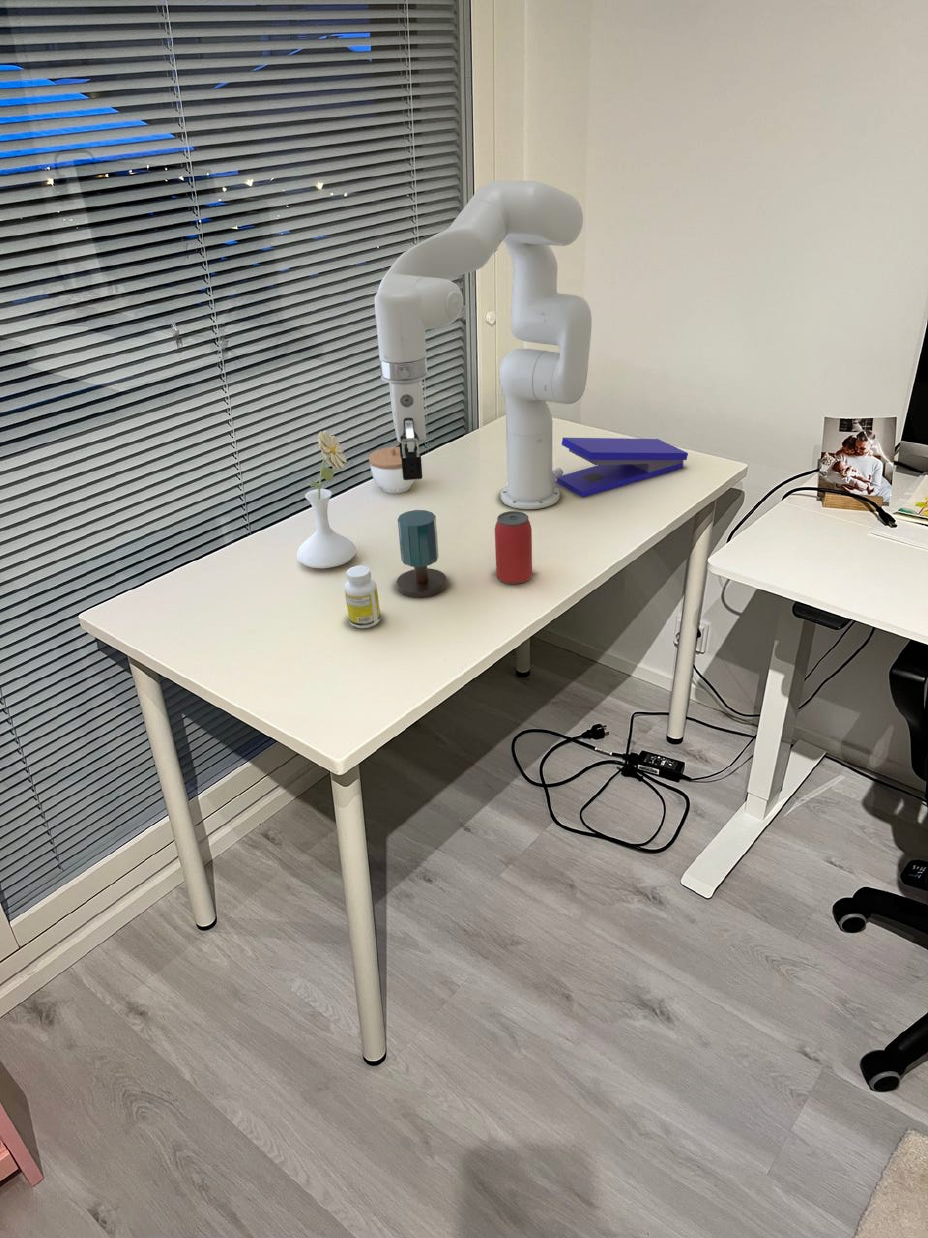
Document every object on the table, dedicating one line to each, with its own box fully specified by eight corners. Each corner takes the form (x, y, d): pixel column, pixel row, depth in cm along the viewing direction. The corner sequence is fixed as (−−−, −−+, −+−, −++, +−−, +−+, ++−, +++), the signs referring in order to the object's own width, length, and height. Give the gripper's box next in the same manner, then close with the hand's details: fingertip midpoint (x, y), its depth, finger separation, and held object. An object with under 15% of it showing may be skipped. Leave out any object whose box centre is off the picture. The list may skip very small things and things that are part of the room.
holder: (419, 569, 180) (414, 505, 173) (456, 582, 175) (452, 517, 168) (387, 588, 174) (380, 524, 167) (424, 602, 169) (419, 536, 162)
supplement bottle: (364, 609, 168) (358, 560, 163) (387, 618, 165) (381, 568, 160) (342, 623, 165) (335, 573, 159) (365, 632, 162) (358, 582, 156)
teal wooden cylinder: (418, 546, 175) (415, 506, 171) (445, 555, 172) (442, 515, 168) (394, 560, 171) (390, 520, 167) (421, 570, 168) (418, 529, 163)
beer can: (532, 568, 178) (532, 509, 172) (531, 585, 172) (530, 525, 166) (497, 568, 179) (495, 509, 172) (495, 585, 173) (492, 525, 167)
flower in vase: (332, 579, 178) (315, 452, 165) (285, 566, 183) (265, 442, 170) (373, 550, 187) (360, 428, 174) (327, 538, 193) (311, 419, 180)
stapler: (555, 481, 212) (555, 439, 207) (655, 452, 223) (657, 412, 218) (585, 498, 203) (586, 455, 198) (688, 468, 214) (691, 426, 209)
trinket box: (429, 483, 214) (426, 444, 209) (401, 501, 206) (397, 460, 202) (391, 475, 219) (388, 436, 214) (362, 492, 212) (357, 452, 207)
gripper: (430, 382, 147) (437, 486, 155) (423, 351, 161) (429, 448, 170) (381, 385, 146) (390, 489, 155) (379, 355, 161) (387, 451, 170)
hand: (411, 467), depth 163 cm, fingers open, 9 cm apart
